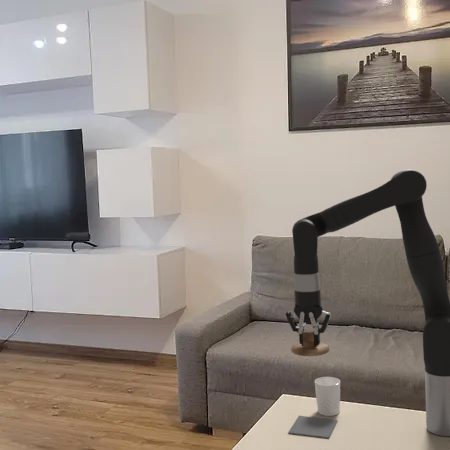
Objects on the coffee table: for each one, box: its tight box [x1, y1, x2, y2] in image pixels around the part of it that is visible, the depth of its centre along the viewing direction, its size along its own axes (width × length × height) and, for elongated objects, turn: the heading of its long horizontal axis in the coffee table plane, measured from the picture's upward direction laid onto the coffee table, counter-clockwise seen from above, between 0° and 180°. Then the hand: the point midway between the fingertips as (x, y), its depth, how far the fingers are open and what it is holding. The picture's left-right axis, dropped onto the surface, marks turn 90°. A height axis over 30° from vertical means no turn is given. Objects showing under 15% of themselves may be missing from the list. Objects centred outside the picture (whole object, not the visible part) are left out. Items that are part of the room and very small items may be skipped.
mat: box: [287, 415, 339, 439], centre depth 173 cm, size 12×12×1 cm
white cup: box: [314, 376, 341, 417], centre depth 183 cm, size 8×8×10 cm
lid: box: [290, 328, 330, 357], centre depth 171 cm, size 11×11×6 cm
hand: (309, 345), depth 171 cm, fingers closed on lid, 3 cm apart
